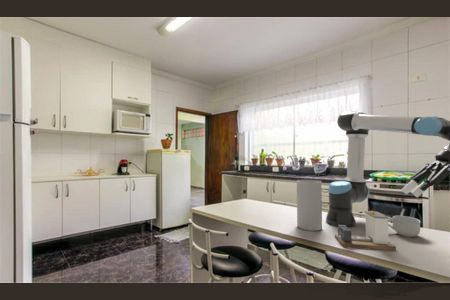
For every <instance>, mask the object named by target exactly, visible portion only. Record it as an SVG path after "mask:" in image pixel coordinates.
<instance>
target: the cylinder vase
mask: <svg viewBox="0 0 450 300" xmlns="http://www.w3.org/2000/svg"><path fill="white" fill-rule="evenodd" d="M322 194H323V193H322V181H321V180H315V179H298V180H296V220H297V221H296V222H297V224H296V225H297V227H298V228H299V229H300V230H304V231H311V232H317V231H320V230H322V229H323V211H322V210H323V207H322V206H323V204H322V203H323V202H322V200H323V199H322Z"/></svg>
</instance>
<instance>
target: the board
mask: <svg viewBox="0 0 450 300" xmlns="http://www.w3.org/2000/svg"><path fill="white" fill-rule="evenodd" d="M352 236H363V237H366V235H364V234H363V235H359V234H352ZM334 238H335V240H337V242H338V243H339V244H340V245H341V246H342V247H343V248H348V247H351V248H352V249H364V248H370V249H369V250H379V249H383V250H382V251H394V250H395V251H397V246H396V245H394V244H393V243H391V242H390V241H389V243H388V244H377V243H374V242H370V241H353V240H352V242H344V241H343V240H341V239H340V238H339V236H338V233H334Z"/></svg>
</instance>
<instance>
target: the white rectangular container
mask: <svg viewBox="0 0 450 300" xmlns="http://www.w3.org/2000/svg"><path fill="white" fill-rule="evenodd" d="M364 213H365V214H364V216H365V236H366V237H371V238H372V240H373V242H374V243H377V244H388V241H389V226H388V224H389V219H388V217H389V216H387V215H385V214H383V213H381V212H379V211H373V210H367V211H366V210H365V211H364ZM389 242H390V241H389Z"/></svg>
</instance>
